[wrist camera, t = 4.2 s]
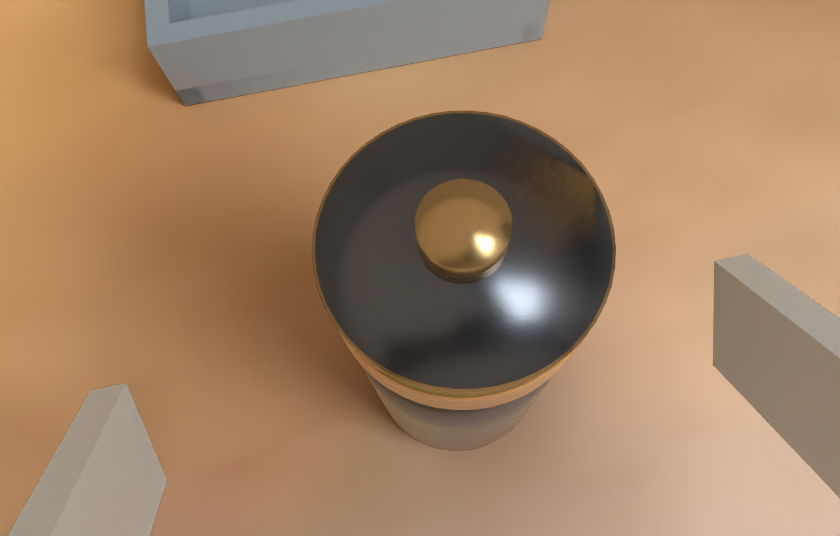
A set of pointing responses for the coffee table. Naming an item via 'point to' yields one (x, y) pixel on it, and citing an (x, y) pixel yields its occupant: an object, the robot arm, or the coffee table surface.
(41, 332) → the coffee table surface
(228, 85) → the tray
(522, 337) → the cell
